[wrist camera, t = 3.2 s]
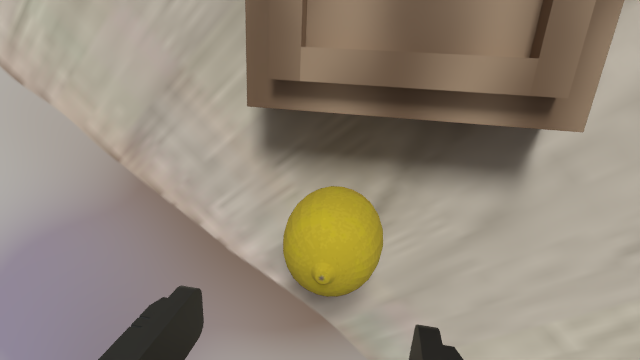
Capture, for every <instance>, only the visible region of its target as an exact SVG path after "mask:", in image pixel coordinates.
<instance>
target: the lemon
mask: <svg viewBox="0 0 640 360" xmlns="http://www.w3.org/2000/svg"><path fill="white" fill-rule="evenodd" d="M382 247H383V229H382V225H381V222H380V219H379V216H378V213H377V212H376V210H375V209H374V207H373V206H372V204H371V203H370V202H369V201H368V200H367V199H366V198H365V197H364V196H363V195H361V194H359V193H358V192H356V191H354V190H352V189H348V188H345V187H335V186H331V187H326V188H321V189H318V190H316V191H314V192H312V193H310V194H309V195H307V196H306V197H305V198H304V199H303V200H302V201H300V202H299V203H298V204H297V206H296V207H295V209H294V210H293V212H292V213H291V215H290V217H289V219H288V222H287V225H286V229H285V232H284V239H283V252H284V257H285V261H286V264H287V267H288V269H289V271H290V273H291V274H292V276H293V278H294V279H295V280H296V281H297V282H298V283H299V284H300V285H301V286H303V287H304V288H305V289H307V290H308V291H311V292H313V293H315V294H318V295H323V296H327V297H329V296H341V295H345V294H348V293H350V292H352V291H354V290H356V289H358V288H359V287H361V286H362V285H363V284H364V283H365V282H366V281H367V280H368V279H369V278H370V276H371V275H372V273H373V271H374V270H375V268H376V266H377V264H378V262H379V259H380V255H381V251H382Z"/></svg>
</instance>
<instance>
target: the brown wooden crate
mask: <svg viewBox="0 0 640 360" xmlns="http://www.w3.org/2000/svg"><path fill="white" fill-rule="evenodd" d="M623 3H624V0H245V9H246V63H247V106H250V107H263V108H276V109H289V110H301V111H314V112H327V113H340V114H353V115H366V116H379V117H392V118H405V119H418V120H430V121H443V122H456V123H469V124H482V125H495V126H508V127H521V128H534V129H547V130H560V131H572V132H584V128H585V125H586V122H587V119H588V115H589V112H590V109H591V106H592V103H593V99H594V96H595V93H596V90H597V86H598V83H599V80H600V77H601V74H602V70H603V67H604V64H605V61H606V58H607V54H608V51H609V48H610V45H611V41H612V38H613V35H614V32H615V29H616V25H617V22H618V19H619V16H620V12H621V9H622V6H623Z"/></svg>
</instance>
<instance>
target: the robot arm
mask: <svg viewBox="0 0 640 360" xmlns="http://www.w3.org/2000/svg"><path fill="white" fill-rule="evenodd" d="M203 322H204V321H203V306H202V293H201V290H200V289H199V288H193V287H186V286H179V287H178V288H177V289H176V290H175V291H174V292H173V293H172V294H171V295H170V296H169V297H168V298H165V297H163V298H161V299H160V300H158V301H156V302H154V303H153V304H151V305H149V307H148V308H147V309H146V310H145V311H144V312H143V313H142V314H141V315H140V317H139V318H137V319H136V320H135V321H134V322H133V323H132V325H131V327H129V328H128V329H127V330H126V331H125V332H124V333H123V334H122V335H121V336H120V337H119V338H118V339H117V340H116V341H115V342H114V344H113V345H112V346H111V347H110V348H109V349H108V350H107V351H106V352H105V353H104V354H103V355H102V356H101V357H100V358H99V359H98V360H185V358H186V357H187V355H188V354H189V352H190V351H191V349H192V348H193V346H194V345H195V343H196V342H197V340H198V338H199V337H200V334H201V332H202V328H203ZM409 360H463V358H462V357H461V356H460V354H459V353H458V352H457V350H456V349H455V347H452V346H446V345H443V344H442V340H441V335H440V331H439V329H438V328H435V327H429V326H423V325H416V326H415V330H414V335H413V341H412V346H411V351H410V356H409Z"/></svg>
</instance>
